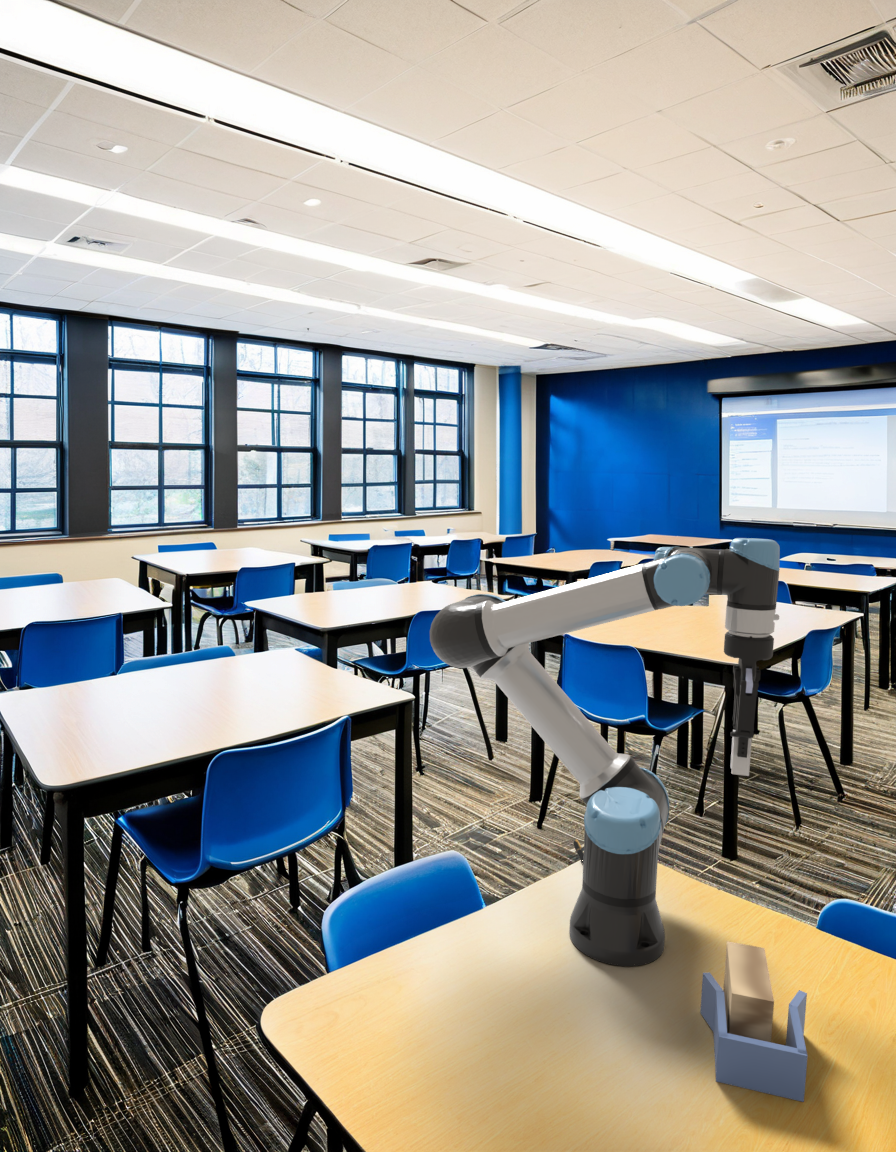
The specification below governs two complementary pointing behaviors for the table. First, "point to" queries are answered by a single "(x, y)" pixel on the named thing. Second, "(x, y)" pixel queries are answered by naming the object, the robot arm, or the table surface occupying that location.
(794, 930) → the table surface
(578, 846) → the fountain pen
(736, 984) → the block
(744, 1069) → the blue u-shaped bracket
